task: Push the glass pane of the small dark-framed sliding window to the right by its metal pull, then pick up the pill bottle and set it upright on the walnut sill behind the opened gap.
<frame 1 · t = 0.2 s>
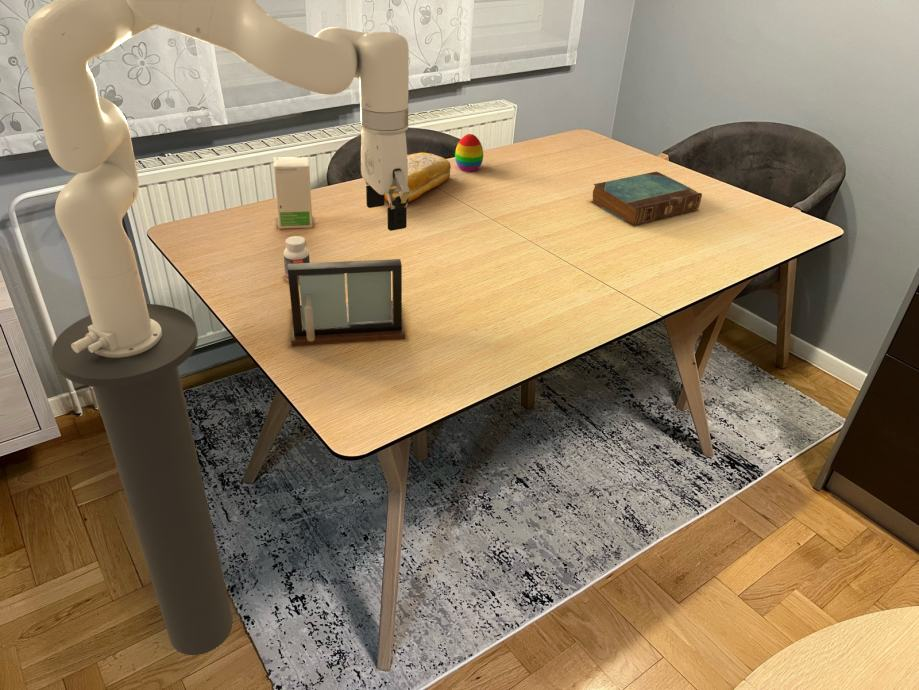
hand: (386, 217, 125), 24 cm above the table, tool pointing down, fingers open, 9 cm apart
pill bottle: (298, 278, 155), on the table
cosmetic box: (296, 223, 178), on the table
window frame: (348, 335, 138), on the table
decorative egg: (468, 168, 213), on the table
bread: (412, 189, 198), on the table
book: (643, 206, 195), on the table
pane: (324, 309, 130), point 8 cm above the table, slide at 0.0 cm
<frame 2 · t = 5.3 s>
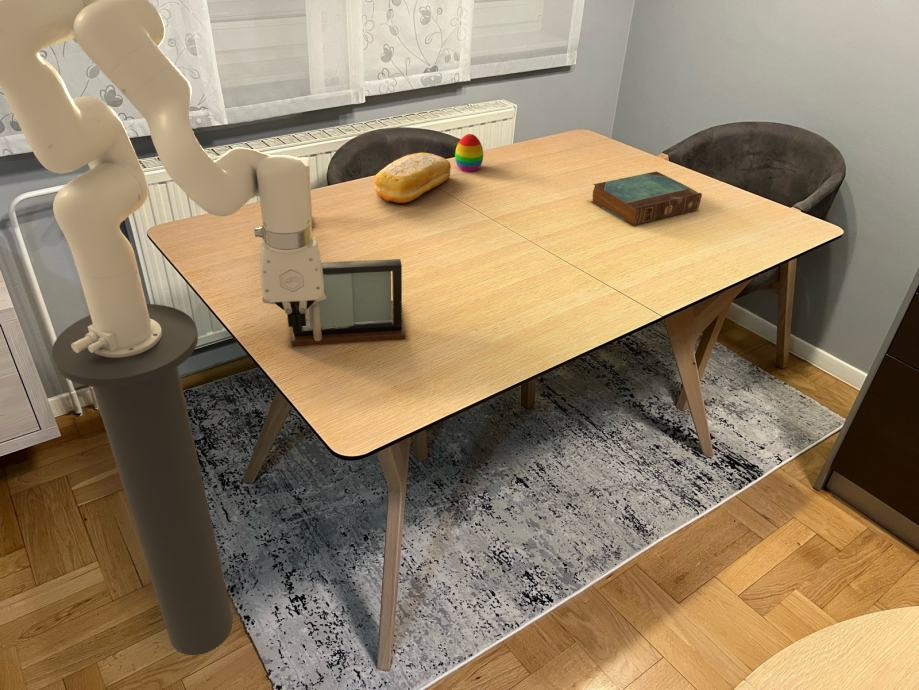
hand: (297, 328, 128), 6 cm above the table, tool pointing down, fingers closed
pane: (330, 309, 130), point 8 cm above the table, slide at 1.2 cm, touching gripper
everything else where it was.
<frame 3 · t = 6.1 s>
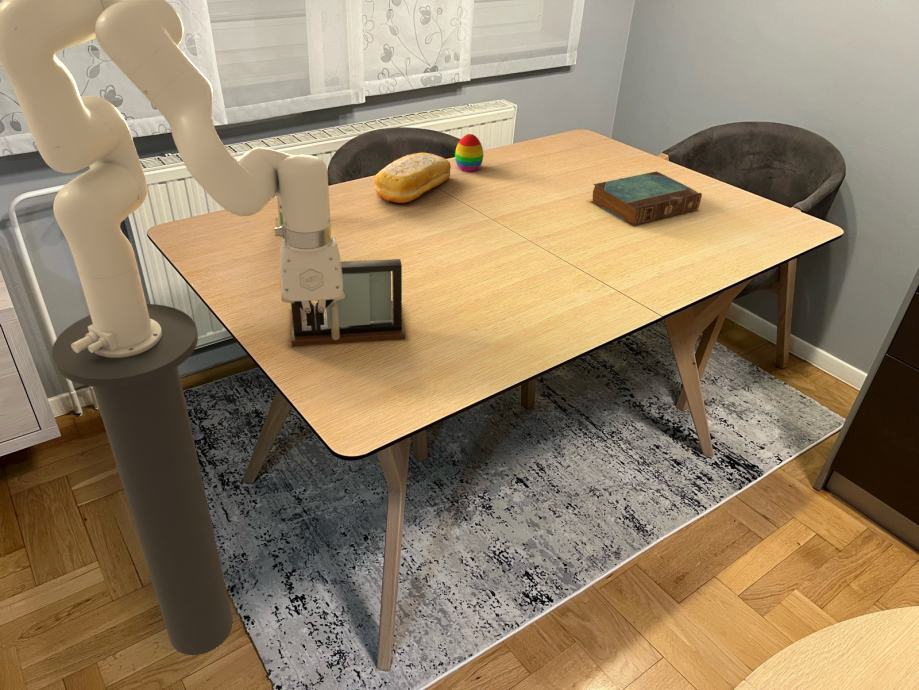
hand: (316, 327, 128), 6 cm above the table, tool pointing down, fingers closed
pane: (348, 308, 131), point 8 cm above the table, slide at 4.4 cm, touching gripper
everything else where it was.
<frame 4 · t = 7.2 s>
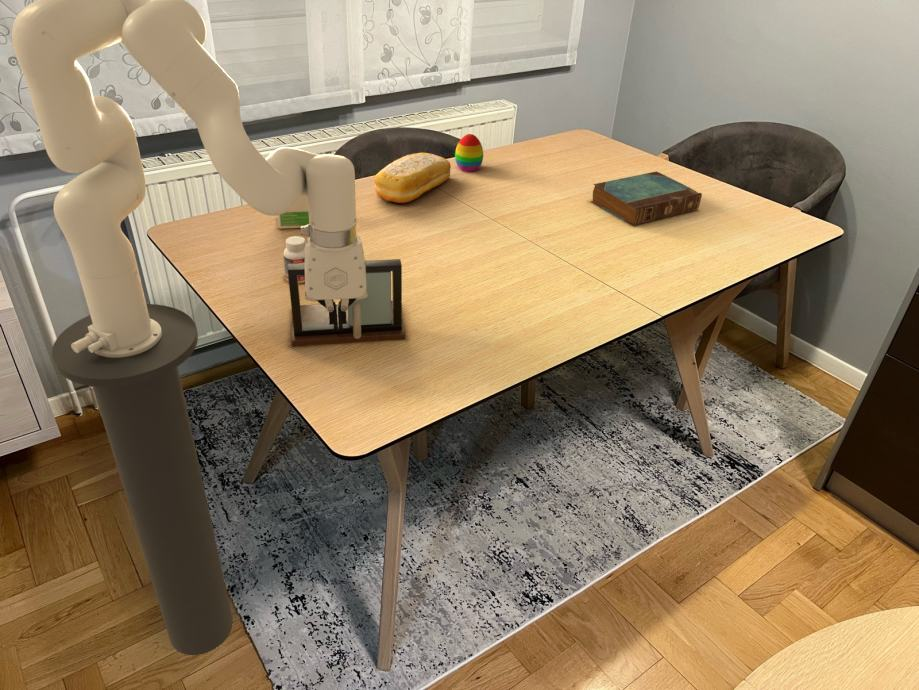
hand: (338, 326, 129), 6 cm above the table, tool pointing down, fingers closed
pane: (370, 307, 131), point 8 cm above the table, slide at 8.2 cm, touching gripper
everything else where it was.
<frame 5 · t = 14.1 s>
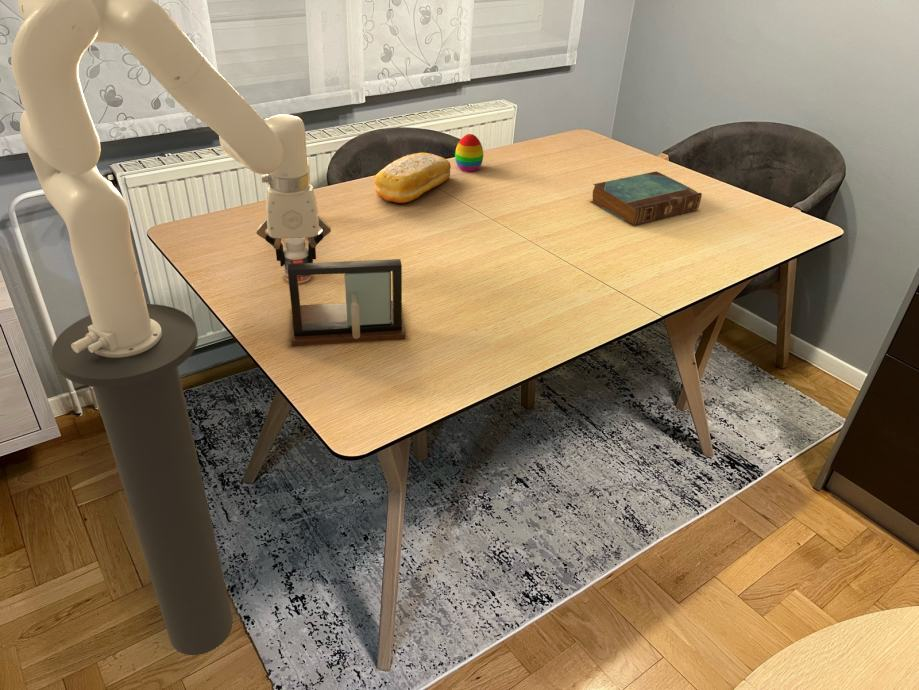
hand: (296, 261, 153), 4 cm above the table, tool pointing down, fingers closed on pill bottle, 5 cm apart
pill bottle: (298, 278, 155), on the table, touching gripper
pane: (369, 307, 131), point 8 cm above the table, slide at 8.0 cm
everything else where it was.
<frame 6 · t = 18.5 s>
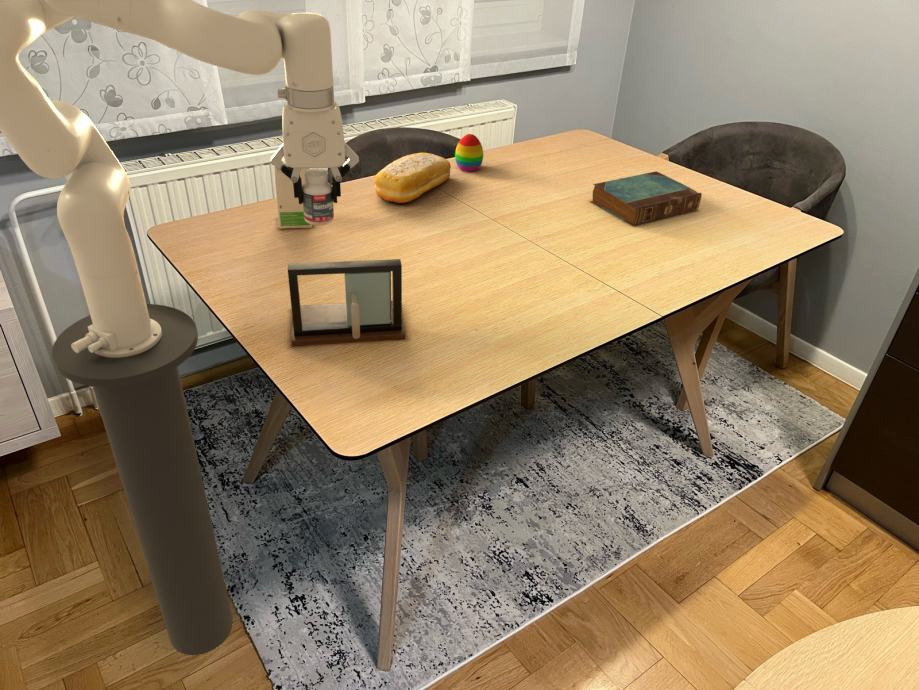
hand: (318, 199, 129), 25 cm above the table, tool pointing down, fingers closed on pill bottle, 5 cm apart
pill bottle: (319, 220, 131), point 21 cm above the table, touching gripper
everything else where it was.
when the fingers open (5 cm above the table, at t = 23.2 s): pill bottle stays where it is, resting on window frame.
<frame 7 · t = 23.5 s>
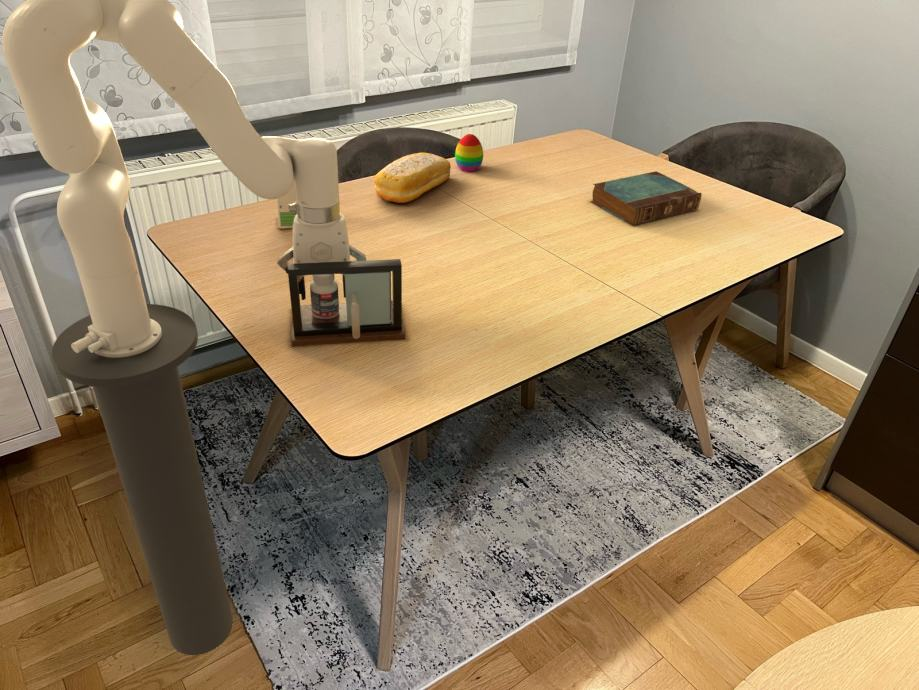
hand: (324, 295, 140), 5 cm above the table, tool pointing down, fingers open, 7 cm apart
pill bottle: (325, 313, 142), point 1 cm above the table, touching window frame
everything else where it was.
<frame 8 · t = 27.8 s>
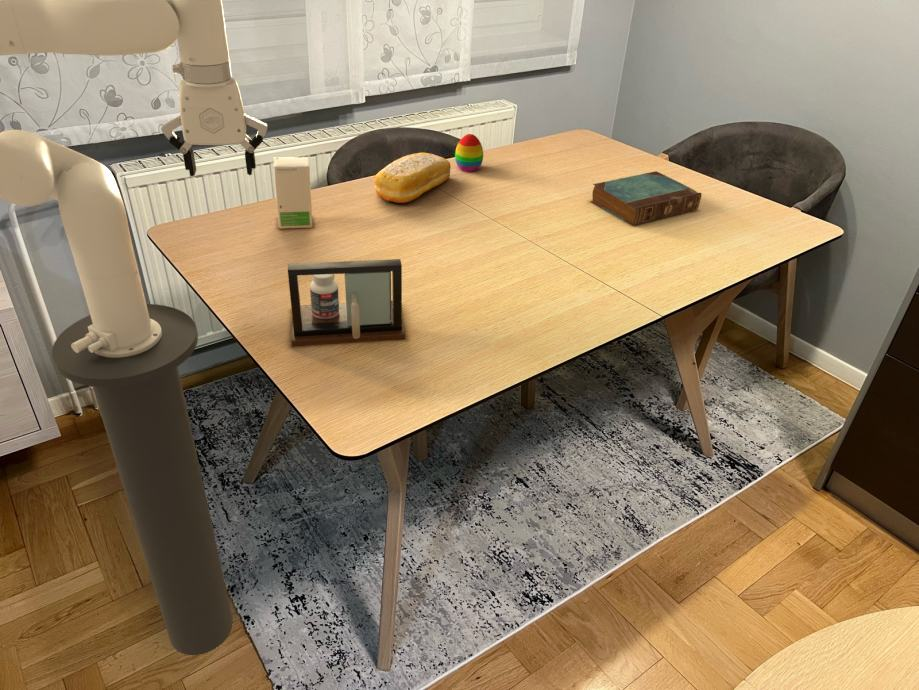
hand: (221, 172, 128), 28 cm above the table, tool pointing down, fingers open, 9 cm apart
nothing on the table moved.
at the end: pane slide at 8.0 cm; pill bottle inside the target area on the window frame (0.0 cm from its centre), point 1.0 cm above the window frame's base; pill bottle tilted 0° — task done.
